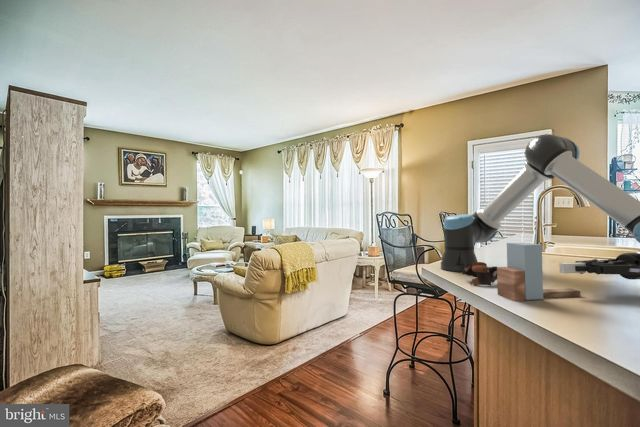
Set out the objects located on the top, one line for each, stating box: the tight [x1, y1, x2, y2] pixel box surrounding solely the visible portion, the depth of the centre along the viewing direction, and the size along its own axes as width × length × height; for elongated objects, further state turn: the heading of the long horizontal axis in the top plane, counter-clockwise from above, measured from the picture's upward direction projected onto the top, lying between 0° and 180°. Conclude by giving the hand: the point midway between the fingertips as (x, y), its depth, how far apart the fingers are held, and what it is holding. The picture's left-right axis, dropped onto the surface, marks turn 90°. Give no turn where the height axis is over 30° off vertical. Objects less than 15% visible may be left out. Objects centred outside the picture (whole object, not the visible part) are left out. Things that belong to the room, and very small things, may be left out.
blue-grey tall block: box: [506, 242, 544, 301], centre depth 86 cm, size 5×7×15 cm
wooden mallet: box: [496, 266, 581, 302], centre depth 86 cm, size 21×7×8 cm, turn 94°
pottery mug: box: [462, 261, 498, 287], centre depth 104 cm, size 12×10×8 cm
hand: (561, 268), depth 87 cm, fingers closed
